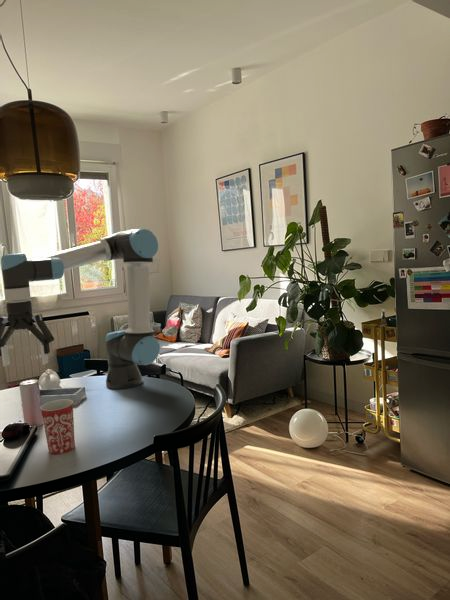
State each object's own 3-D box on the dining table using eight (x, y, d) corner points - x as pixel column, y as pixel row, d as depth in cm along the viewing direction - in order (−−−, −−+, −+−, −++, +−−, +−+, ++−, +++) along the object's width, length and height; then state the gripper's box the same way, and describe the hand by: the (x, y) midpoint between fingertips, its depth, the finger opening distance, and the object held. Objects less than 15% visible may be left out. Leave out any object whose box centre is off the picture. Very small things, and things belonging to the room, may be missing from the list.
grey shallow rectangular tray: (86, 396, 180) (85, 386, 180) (76, 405, 170) (74, 395, 170) (38, 398, 182) (36, 389, 181) (25, 407, 172) (23, 397, 171)
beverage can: (26, 423, 155) (21, 380, 154) (45, 420, 156) (40, 378, 155) (23, 429, 149) (17, 385, 148) (42, 426, 151) (36, 383, 149)
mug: (78, 451, 129) (73, 406, 127) (44, 458, 126) (38, 412, 125) (78, 435, 141) (73, 393, 139) (47, 441, 138) (42, 398, 137)
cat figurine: (52, 372, 185) (47, 361, 198) (35, 385, 182) (31, 373, 195) (66, 388, 189) (61, 376, 202) (50, 401, 186) (45, 388, 199)
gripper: (60, 297, 151) (67, 359, 153) (-11, 302, 153) (-4, 363, 155) (49, 300, 143) (57, 365, 146) (-25, 304, 145) (-17, 369, 148)
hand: (26, 364), depth 150 cm, fingers open, 13 cm apart
